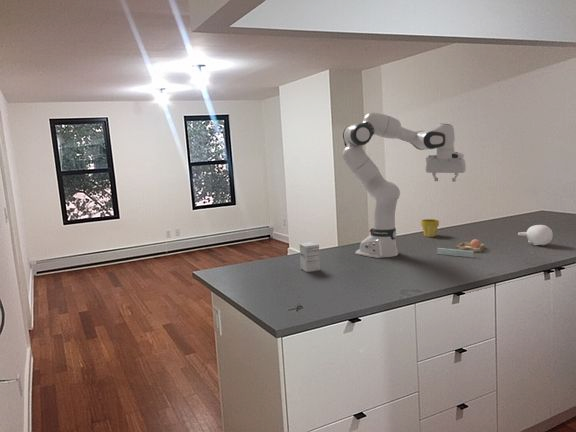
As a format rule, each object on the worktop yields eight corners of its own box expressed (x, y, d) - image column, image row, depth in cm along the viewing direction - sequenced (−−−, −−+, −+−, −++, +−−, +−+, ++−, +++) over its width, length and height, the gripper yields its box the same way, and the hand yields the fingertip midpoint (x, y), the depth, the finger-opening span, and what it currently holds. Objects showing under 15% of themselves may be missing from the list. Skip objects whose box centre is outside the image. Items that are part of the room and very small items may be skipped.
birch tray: (455, 250, 255) (455, 246, 255) (462, 245, 265) (462, 242, 265) (479, 252, 248) (479, 248, 248) (485, 247, 258) (485, 244, 258)
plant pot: (431, 233, 301) (431, 218, 300) (442, 236, 292) (442, 220, 290) (417, 235, 298) (417, 220, 296) (428, 238, 288) (428, 222, 287)
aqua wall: (437, 253, 250) (437, 248, 249) (437, 253, 251) (437, 247, 250) (472, 257, 239) (473, 251, 239) (473, 257, 240) (473, 251, 240)
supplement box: (300, 268, 233) (299, 243, 231) (314, 266, 235) (313, 241, 233) (306, 272, 226) (305, 246, 224) (320, 270, 229) (319, 244, 227)
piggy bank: (555, 249, 255) (529, 246, 268) (558, 227, 256) (532, 225, 269) (541, 245, 249) (515, 242, 262) (544, 223, 250) (518, 221, 263)
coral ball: (467, 242, 255) (476, 238, 252) (470, 240, 259) (478, 237, 256) (472, 251, 254) (480, 247, 251) (474, 249, 258) (483, 245, 255)
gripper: (423, 155, 255) (423, 181, 257) (463, 155, 243) (462, 182, 245) (428, 155, 260) (427, 180, 262) (466, 154, 248) (466, 181, 250)
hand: (445, 181), depth 253 cm, fingers open, 8 cm apart
